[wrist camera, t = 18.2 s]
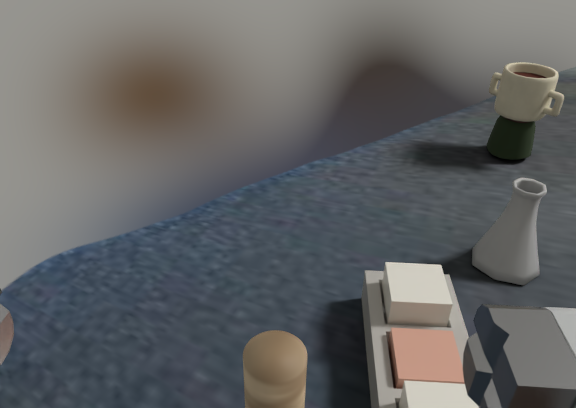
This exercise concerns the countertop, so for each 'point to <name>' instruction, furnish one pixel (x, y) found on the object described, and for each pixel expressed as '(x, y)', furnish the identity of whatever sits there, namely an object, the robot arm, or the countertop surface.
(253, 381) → the tan wooden cylinder
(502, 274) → the flask
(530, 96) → the character mug
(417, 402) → the ivory key
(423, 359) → the terracotta key
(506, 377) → the robot arm
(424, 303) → the ivory key
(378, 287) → the keypad bezel
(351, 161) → the countertop surface
